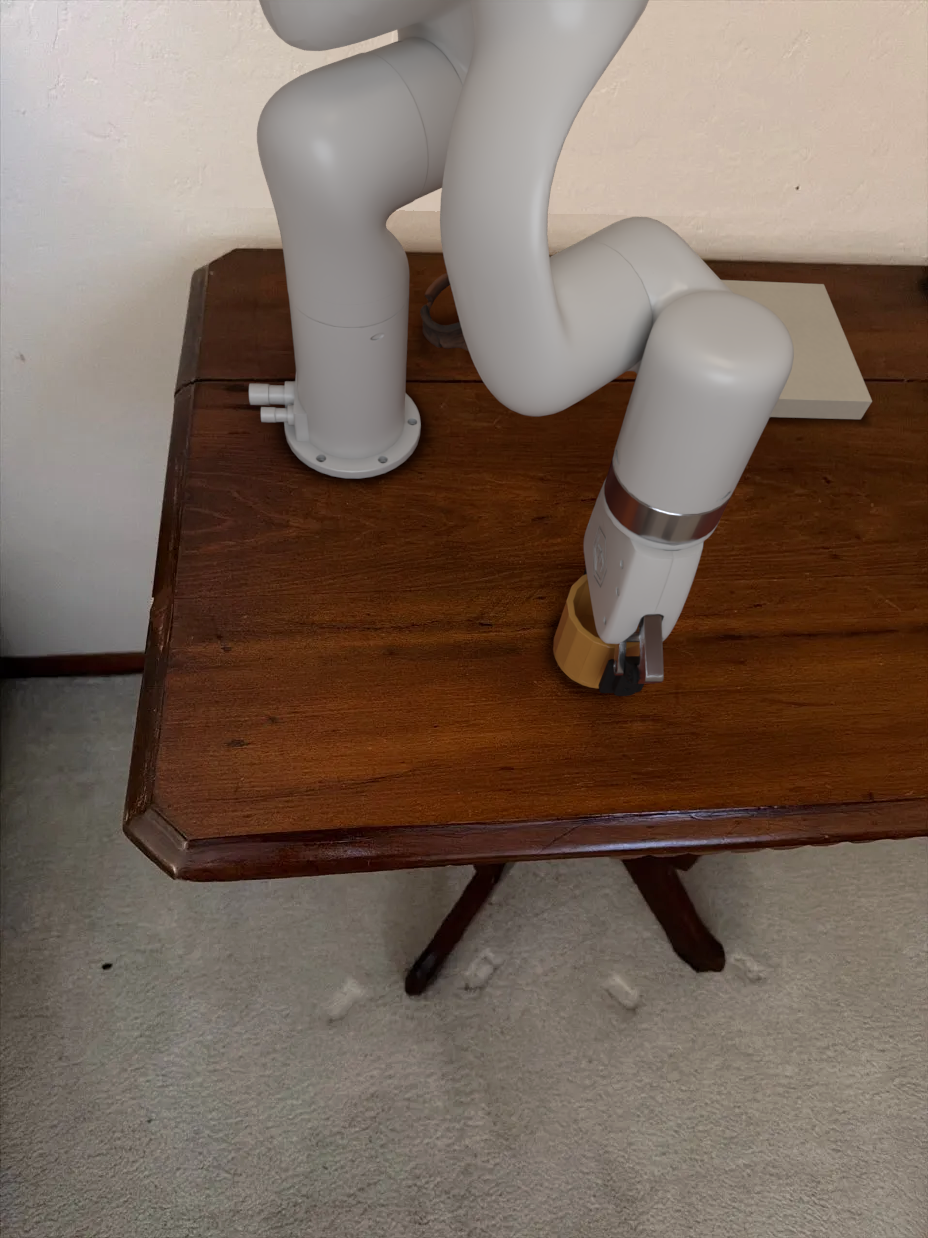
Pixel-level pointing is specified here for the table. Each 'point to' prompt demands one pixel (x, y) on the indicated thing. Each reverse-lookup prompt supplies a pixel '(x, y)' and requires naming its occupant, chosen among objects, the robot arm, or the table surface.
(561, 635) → the cup
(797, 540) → the table surface
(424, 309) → the brown grey ring-shaped piece
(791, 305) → the board
